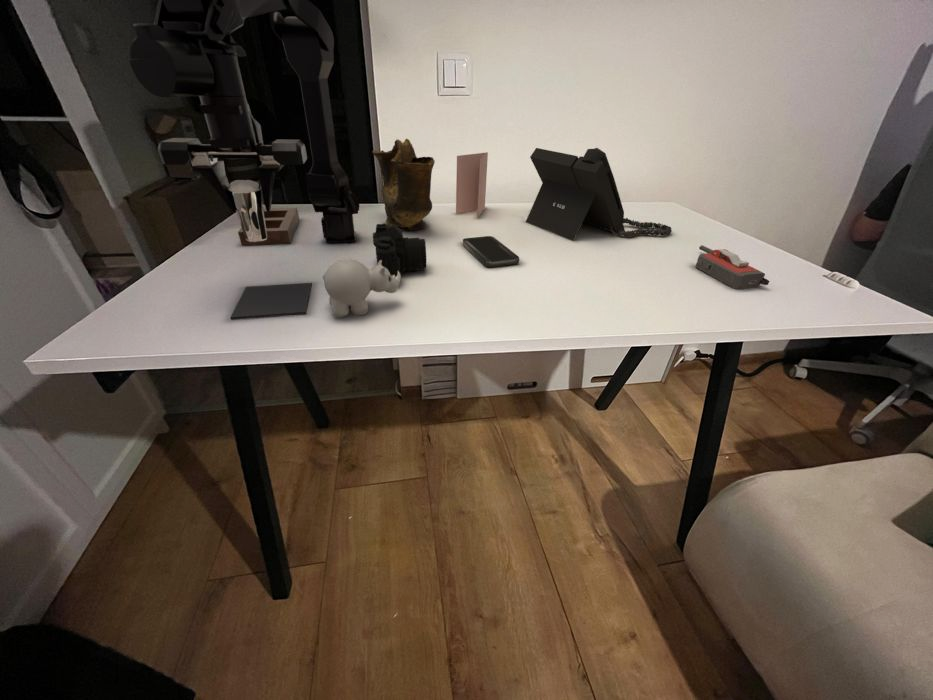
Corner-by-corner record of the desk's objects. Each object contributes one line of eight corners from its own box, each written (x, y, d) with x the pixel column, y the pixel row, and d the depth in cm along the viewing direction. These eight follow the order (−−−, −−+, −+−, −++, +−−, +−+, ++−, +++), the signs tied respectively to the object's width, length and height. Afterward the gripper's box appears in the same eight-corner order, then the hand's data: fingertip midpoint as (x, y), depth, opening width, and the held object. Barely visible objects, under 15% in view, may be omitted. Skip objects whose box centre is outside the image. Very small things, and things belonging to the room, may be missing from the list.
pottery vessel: (444, 238, 96) (444, 146, 85) (400, 243, 92) (394, 147, 81) (412, 210, 114) (408, 132, 103) (374, 214, 110) (366, 132, 99)
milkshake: (269, 244, 65) (254, 178, 59) (236, 242, 64) (218, 176, 59) (281, 235, 68) (268, 172, 63) (249, 233, 68) (234, 170, 63)
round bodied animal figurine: (406, 313, 65) (404, 264, 61) (330, 323, 62) (320, 272, 57) (398, 294, 71) (395, 247, 66) (327, 302, 68) (318, 253, 63)
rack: (299, 219, 104) (296, 207, 102) (290, 243, 90) (287, 230, 88) (257, 221, 102) (254, 209, 100) (241, 245, 88) (237, 232, 86)
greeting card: (482, 207, 120) (485, 151, 112) (500, 212, 116) (505, 155, 107) (453, 213, 113) (454, 155, 105) (471, 219, 109) (474, 159, 101)
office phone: (676, 234, 105) (705, 148, 93) (605, 254, 91) (628, 156, 79) (590, 207, 124) (605, 133, 113) (520, 219, 110) (529, 137, 99)
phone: (487, 262, 81) (461, 238, 92) (486, 268, 82) (461, 243, 93) (521, 258, 83) (492, 235, 95) (521, 263, 84) (492, 240, 96)
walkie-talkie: (775, 289, 78) (702, 252, 94) (786, 267, 76) (709, 233, 92) (738, 292, 76) (670, 254, 92) (748, 270, 74) (676, 235, 90)
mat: (311, 284, 73) (311, 282, 73) (305, 313, 64) (305, 311, 64) (246, 288, 71) (245, 286, 71) (230, 319, 62) (230, 317, 62)
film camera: (429, 287, 74) (428, 239, 69) (375, 289, 72) (370, 240, 67) (423, 256, 86) (421, 213, 81) (377, 257, 84) (372, 214, 79)
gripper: (301, 96, 64) (318, 198, 72) (169, 91, 60) (203, 200, 69) (291, 99, 55) (311, 215, 63) (135, 94, 51) (179, 218, 60)
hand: (252, 211), depth 64 cm, fingers closed on milkshake, 5 cm apart
